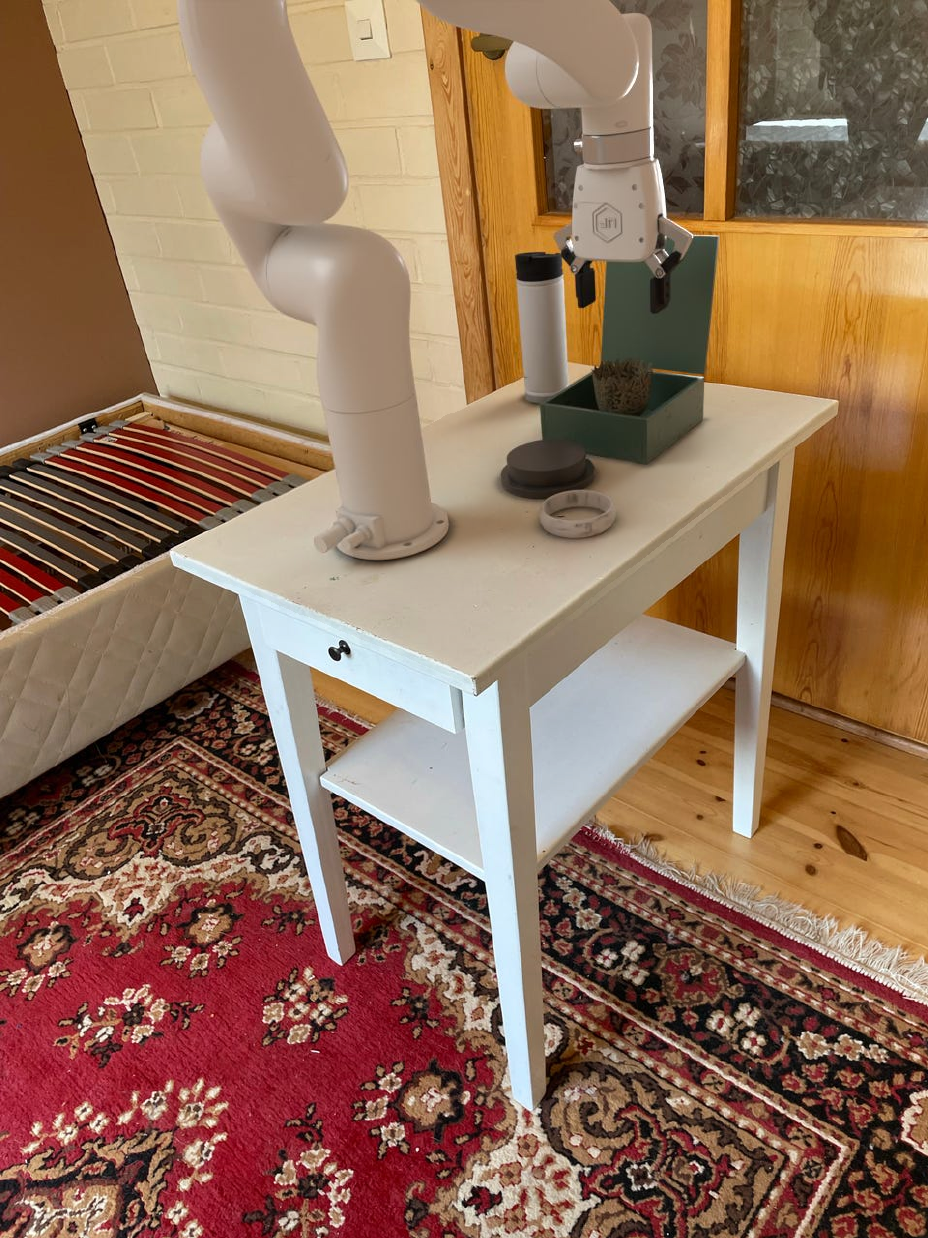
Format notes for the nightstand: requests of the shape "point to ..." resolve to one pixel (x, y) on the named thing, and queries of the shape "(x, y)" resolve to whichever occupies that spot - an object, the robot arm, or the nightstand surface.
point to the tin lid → (673, 331)
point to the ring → (579, 526)
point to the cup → (623, 386)
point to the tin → (625, 418)
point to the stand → (546, 469)
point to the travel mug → (542, 324)
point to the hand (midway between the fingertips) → (622, 307)
